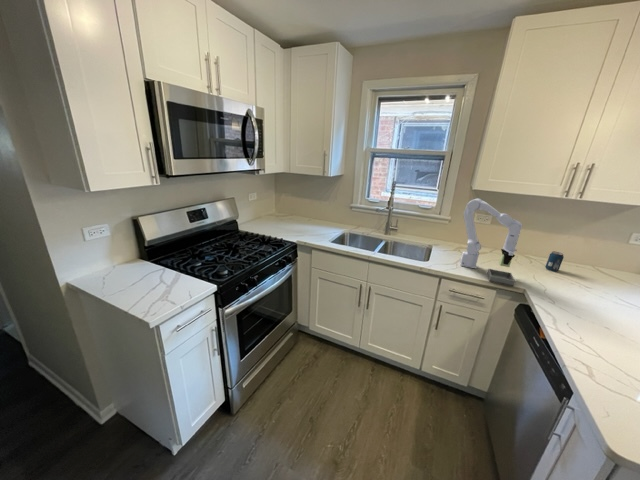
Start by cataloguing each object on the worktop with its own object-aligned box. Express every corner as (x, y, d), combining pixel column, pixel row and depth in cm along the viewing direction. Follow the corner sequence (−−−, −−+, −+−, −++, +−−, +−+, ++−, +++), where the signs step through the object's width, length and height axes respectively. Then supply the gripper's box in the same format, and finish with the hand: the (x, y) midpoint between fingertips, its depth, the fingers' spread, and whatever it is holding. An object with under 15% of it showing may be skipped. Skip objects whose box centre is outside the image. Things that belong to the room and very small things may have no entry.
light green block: (500, 265, 161) (503, 256, 159) (499, 262, 165) (501, 254, 163) (509, 267, 159) (512, 258, 157) (507, 264, 163) (510, 255, 161)
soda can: (549, 267, 180) (555, 250, 176) (560, 271, 174) (567, 254, 170) (542, 268, 178) (548, 251, 174) (553, 272, 172) (560, 255, 168)
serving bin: (489, 281, 155) (490, 276, 154) (486, 273, 165) (488, 268, 164) (513, 286, 150) (515, 281, 149) (509, 278, 161) (510, 272, 159)
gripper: (522, 246, 149) (515, 268, 154) (516, 239, 162) (509, 259, 166) (507, 244, 152) (501, 265, 156) (502, 237, 164) (496, 257, 169)
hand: (504, 262), depth 162 cm, fingers closed on light green block, 5 cm apart
